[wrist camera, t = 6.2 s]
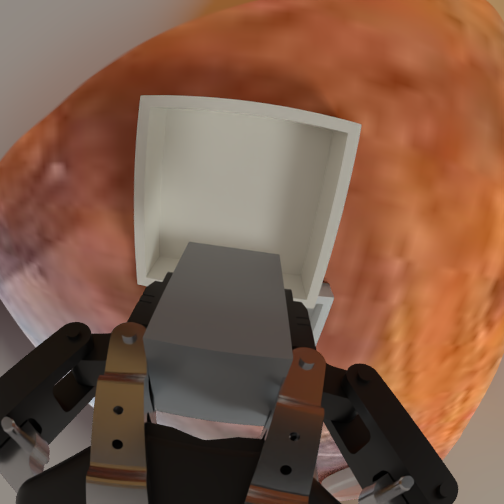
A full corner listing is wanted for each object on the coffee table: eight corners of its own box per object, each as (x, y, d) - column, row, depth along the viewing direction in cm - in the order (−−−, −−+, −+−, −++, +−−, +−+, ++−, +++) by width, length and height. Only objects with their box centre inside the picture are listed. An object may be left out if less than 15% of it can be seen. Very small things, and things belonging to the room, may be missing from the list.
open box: (306, 280, 22) (313, 308, 19) (154, 259, 22) (137, 284, 18) (342, 123, 17) (361, 124, 13) (161, 99, 16) (140, 95, 13)
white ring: (428, 436, 41) (434, 455, 36) (413, 465, 52) (417, 479, 47) (313, 472, 46) (315, 492, 41) (327, 491, 57) (329, 505, 52)
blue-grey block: (279, 254, 12) (293, 358, 7) (263, 323, 14) (265, 426, 9) (189, 241, 12) (142, 337, 7) (186, 312, 14) (156, 410, 8)
